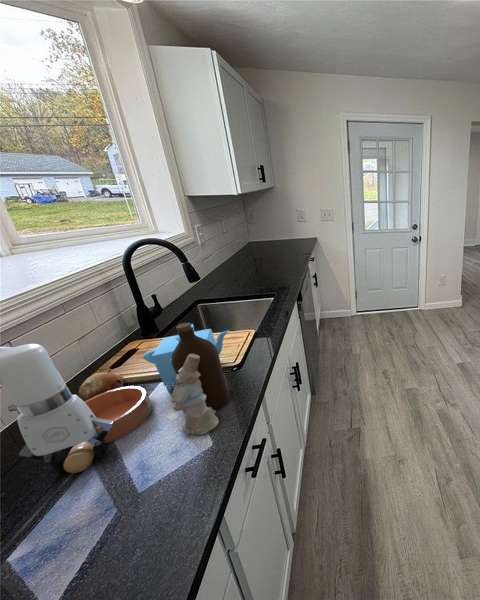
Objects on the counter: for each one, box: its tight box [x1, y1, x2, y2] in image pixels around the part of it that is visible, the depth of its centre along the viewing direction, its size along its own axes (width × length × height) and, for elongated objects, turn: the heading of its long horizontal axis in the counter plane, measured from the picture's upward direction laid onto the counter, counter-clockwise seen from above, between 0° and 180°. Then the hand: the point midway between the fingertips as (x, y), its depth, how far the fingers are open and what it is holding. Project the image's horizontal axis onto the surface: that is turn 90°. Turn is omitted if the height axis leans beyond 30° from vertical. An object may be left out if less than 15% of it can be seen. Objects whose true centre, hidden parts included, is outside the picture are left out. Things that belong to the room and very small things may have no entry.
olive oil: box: [171, 322, 231, 411], centre depth 85 cm, size 11×11×25 cm
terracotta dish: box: [70, 385, 153, 448], centre depth 84 cm, size 18×18×5 cm
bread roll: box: [78, 372, 126, 402], centre depth 97 cm, size 10×10×8 cm
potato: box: [64, 441, 96, 474], centre depth 72 cm, size 8×5×5 cm, turn 28°
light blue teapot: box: [142, 323, 231, 387], centre depth 101 cm, size 19×19×15 cm
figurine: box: [170, 354, 220, 436], centre depth 78 cm, size 9×8×20 cm
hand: (84, 461), depth 73 cm, fingers open, 6 cm apart
